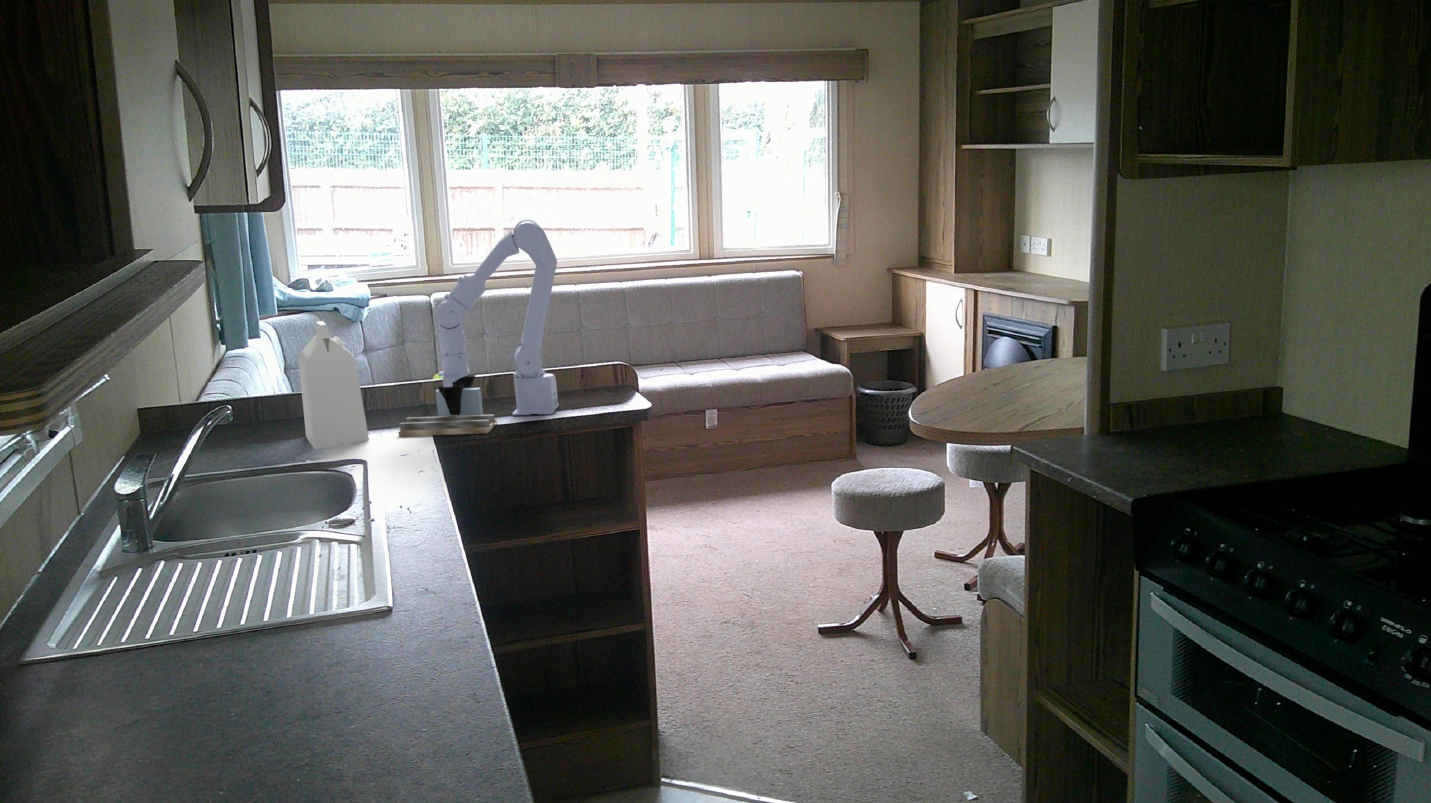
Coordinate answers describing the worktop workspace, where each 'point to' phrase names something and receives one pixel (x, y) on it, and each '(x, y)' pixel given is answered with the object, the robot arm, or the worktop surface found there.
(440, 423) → the track board
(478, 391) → the door panel
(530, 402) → the robot arm
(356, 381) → the milk
